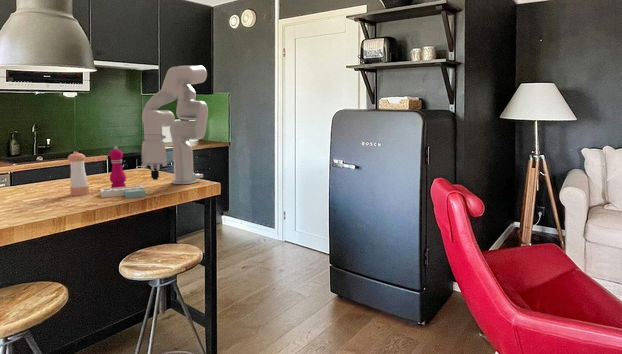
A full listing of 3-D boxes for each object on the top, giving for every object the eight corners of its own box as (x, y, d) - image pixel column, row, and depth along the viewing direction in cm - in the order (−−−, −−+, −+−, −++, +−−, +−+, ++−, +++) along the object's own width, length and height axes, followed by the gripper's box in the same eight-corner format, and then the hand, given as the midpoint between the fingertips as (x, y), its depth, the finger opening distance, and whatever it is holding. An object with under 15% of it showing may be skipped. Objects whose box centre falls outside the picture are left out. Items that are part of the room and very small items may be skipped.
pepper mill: (120, 189, 210) (117, 147, 207) (107, 188, 211) (103, 146, 208) (129, 186, 217) (126, 145, 214) (116, 185, 218) (113, 145, 215)
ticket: (142, 190, 207) (142, 185, 206) (145, 193, 201) (144, 187, 200) (100, 194, 198) (100, 188, 197) (101, 197, 192) (101, 191, 191)
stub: (143, 193, 199) (142, 188, 199) (145, 196, 194) (145, 190, 194) (124, 195, 195) (123, 189, 195) (126, 198, 190) (125, 192, 190)
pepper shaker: (76, 196, 194) (72, 153, 191) (67, 194, 198) (63, 152, 195) (92, 193, 200) (88, 151, 197) (83, 191, 204) (79, 150, 201)
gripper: (169, 137, 202) (170, 177, 204) (134, 138, 194) (136, 179, 197) (172, 138, 195) (174, 179, 198) (136, 139, 188) (138, 181, 190)
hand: (155, 179), depth 197 cm, fingers closed
